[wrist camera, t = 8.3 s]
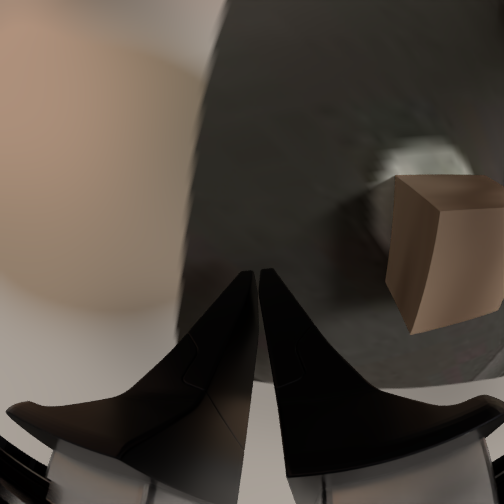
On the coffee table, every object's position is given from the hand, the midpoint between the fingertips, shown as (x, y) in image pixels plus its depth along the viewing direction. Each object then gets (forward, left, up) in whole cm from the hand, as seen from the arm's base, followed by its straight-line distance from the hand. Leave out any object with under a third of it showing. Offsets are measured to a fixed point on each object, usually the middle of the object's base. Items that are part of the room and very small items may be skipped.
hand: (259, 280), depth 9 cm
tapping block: (-8, 0, -2) cm, 8 cm away
